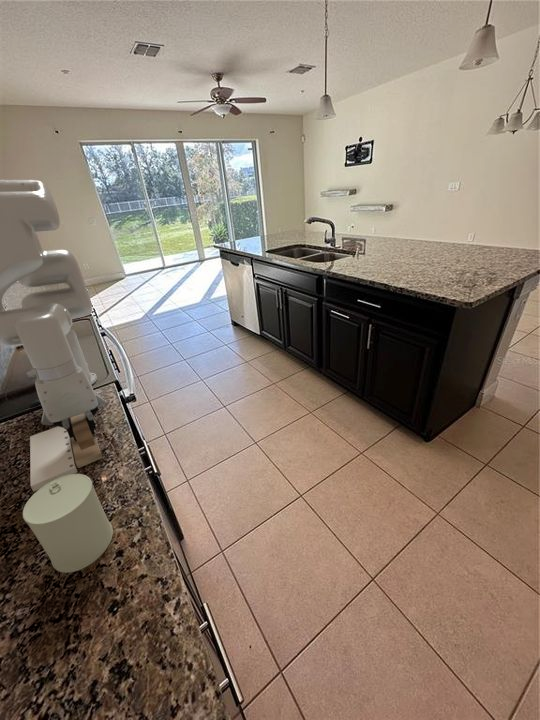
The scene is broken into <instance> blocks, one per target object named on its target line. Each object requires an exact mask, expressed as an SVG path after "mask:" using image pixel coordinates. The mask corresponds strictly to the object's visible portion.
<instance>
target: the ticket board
mask: <svg viewBox="0 0 540 720" xmlns="http://www.w3.org/2000/svg"><path fill="white" fill-rule="evenodd" d="M29 440H30V441H29V447H30V448H29V449H30V450H29V451H30V453H29V454H30V455H29V457H30V458H29V460H30V462H29V463H30V468H29V469H30V470H29V471H30V474H29V475H30V476H29V477H30V488H31V490H32V491H33V492H34V493H35V492H37V491H38V490H39V489H40V488H42V487H43V486H45V485H46V484H48V483H50V482H51V481H53V480H55V479H58V478H60V477H63V476H66V475H71V474H78V467H77V465H76V462H75V457H74V452H73V447H72V442H71V438H70V437H69V435H68V432H67V430H66V429H64V428H63V427H59V426H55V427H52V428H50V429H48V430H45V431H42V432H38V433H36V434H32V435H30V436H29Z"/></svg>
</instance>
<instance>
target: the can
mask: <svg viewBox="0 0 540 720" xmlns="http://www.w3.org/2000/svg"><path fill="white" fill-rule="evenodd" d="M22 518H23V520H24V521H25V523H26V524H27V525H28V527H29V528H30V529H31V531H32V533H33V534H34V536H35V537H36V539H37V540H38V542H39V543H40V545H41V546H42V548H43V549H44V552H45V553H46V554H47V556H48V558H49V559H50V560H49V561H51V565H52V567H53V568H54V570H56V571H57V572H59V573H65V574H67V573H74V572H77V571H81V570H82V569H85V568H86V567H88V566H90V565H91V564H93V563H94V562H96V561H97V560H98V559H99V558H100V557H101V556H103V554H104V553H105V551H106V550H107V549H108V547H109V546H110V544H111V541H112V538H113V535H114V530H113V525H112V524H111V522H110V521H109V519H108V517H107V515H106V513H105V511H104V508H103V506H102V504H101V502H100V499H99V497H98V494H97V492H96V490H95V487H94V485H93V482H92V479H91V478H90V477H89V476H87V475H85V474H81V473H75V474H71V475H66V476H63V477H60V478H58V479H55V480H53V481H51V482H50V483H48V484H46V485H45V486H43V487H42V488H40V489H38V490H36V491H35V492H34V493H33V494H32V495H31V497H30V498H29V499H28V500H27V501H26V503H25V505H24V507H23V510H22Z"/></svg>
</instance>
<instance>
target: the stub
mask: <svg viewBox="0 0 540 720" xmlns="http://www.w3.org/2000/svg"><path fill="white" fill-rule="evenodd" d="M69 419H70V421H71V423H72V428H73V433H74V435H75V437H76V440H77V441H75V440H74V438H73V437H72V438H71V442H72V447H73V452H74V457H75V462H76V467H77V469H80V468H83V467H84V466H87V465H89V464H92V463H93V462H96V461H98V460H101V459H103V455H102V450H101V449H100V446H99V442H98V439H97V436H96V433H95V434H92V433H91V431H90V428H89V426H88V423H87V420H86V414H85V413H82V414H79V415H76V416H73V417H70V418H69Z"/></svg>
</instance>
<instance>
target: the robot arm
mask: <svg viewBox="0 0 540 720" xmlns="http://www.w3.org/2000/svg"><path fill="white" fill-rule="evenodd" d="M60 219H61V218H60V214H59V210H58V208H57V206H56V203H55V201H54V197H53V196H52V193H51V191H50V189H49V188H48V185H46V184H45V183H44V182H42V181H40V180H36V179H0V343H1V344H3V345H5V346H19V345H22V346H23V349H24V351H25V352H26V353H25V354H26V355H27V358H28V360H29V362H30V364H31V366H32V367H31V369H30V370H27V371H26V372H25V373H26V375H27V378H31V377H32V378H36V379H35V382H34V383H35V389H36V394H37V397H38V399H39V402H40V405H41V407H42V409H43V413H42V417H41V425H43V426H55V427H58V426H59V427H63V428H64V429H66V430H67V432H68V435H69V437H70V438H72V437H73V438H74V440H75V441H77V440H76V437H75V435H74V433H73V428H72V423H71V420H69V419H70V417H73V416H76V415H79V414H82V413H85V415H86V420H87V423H88V426H89V428H90V431H91V433H92V434H95V435H96V432H95V429H97V425H96V423H95V420H94V419H95V415H96V414H97V413H98V411H99V409H101V408H102V407H103V406H105V404H106V400H105V399H104V398H103V397H101V396H100V395H99V394H97V393H96V392H95V391H94V388H93V386H92V385H94V384H95V383H96V382H97V380H98V376H97V374H96V373H95V372H90V369H89V363H88V362H86V358H85V356H84V352H83V349H82V347H81V345H80V343H79V339H78V337H77V334H76V332H75V331H74V330H73V328H71V327H72V326H73V319H79V318H82V317H83V318H84V317H86V316H87V317H88V316H89V315H91V314H92V312H93V304H92V300H91V298H90V294H89V291H88V288H87V286H86V282H85V280H84V277H83V274H82V271H81V269H80V266H79V263H78V260H77V259H76V257H75V256H74V254H73V253H72V252H70V251H69V250H66V249H51V250H50V249H49V250H44V249H43V247H42V245H41V242H40V239H39V237H38V233H37V232H52V231H56V230H59V228H60V225H61V221H60ZM18 282H19V284H20V285H21V286H23V287H25V288H42V287H50V286H55V285H63V284H65V285H67V286H68V287H62V288H55V289H47V290H40V291H35V292H31V293H29V294H27V295H25V296H23V297H22V299H21V303H20V304H21V308H13V309H8V310H4V308H3V297H4V295H5V293H6V292H7V290H8V289H9V288H11V286H13V285H14V284H17V283H18Z"/></svg>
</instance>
